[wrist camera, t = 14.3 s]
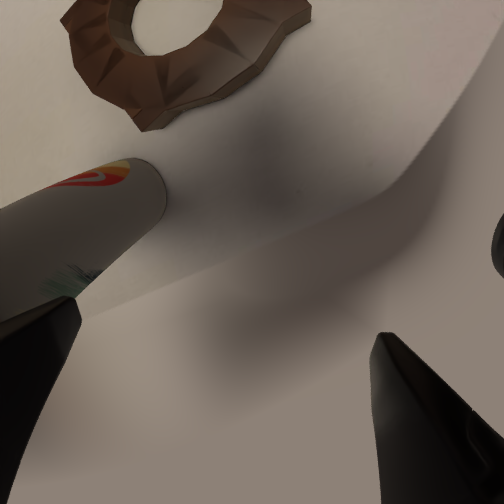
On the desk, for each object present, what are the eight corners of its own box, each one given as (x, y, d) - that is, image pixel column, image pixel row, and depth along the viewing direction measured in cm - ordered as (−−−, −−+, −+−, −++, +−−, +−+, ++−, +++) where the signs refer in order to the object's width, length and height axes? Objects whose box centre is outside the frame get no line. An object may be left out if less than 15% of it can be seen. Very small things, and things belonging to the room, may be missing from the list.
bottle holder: (336, 26, 14) (342, 11, 11) (160, 151, 19) (139, 158, 17) (207, -87, 10) (195, -106, 8) (69, 29, 16) (45, 25, 13)
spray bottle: (100, 159, 20) (-145, 294, 2) (165, 154, 19) (-135, 336, 2) (109, 228, 23) (-82, 404, 5) (171, 232, 22) (-28, 470, 4)
